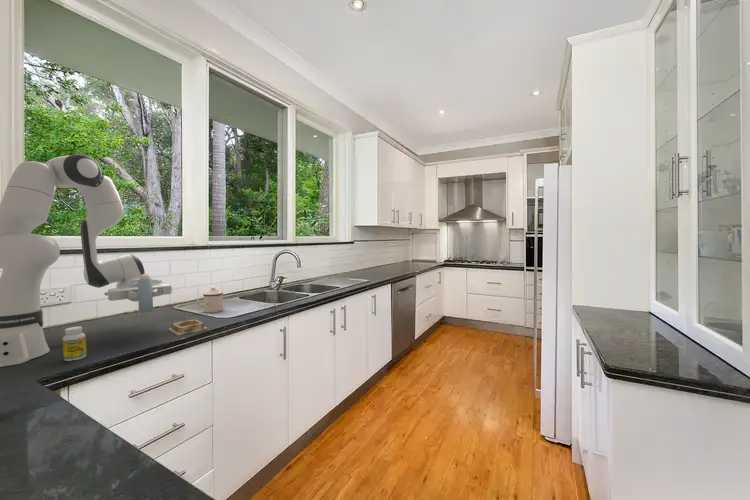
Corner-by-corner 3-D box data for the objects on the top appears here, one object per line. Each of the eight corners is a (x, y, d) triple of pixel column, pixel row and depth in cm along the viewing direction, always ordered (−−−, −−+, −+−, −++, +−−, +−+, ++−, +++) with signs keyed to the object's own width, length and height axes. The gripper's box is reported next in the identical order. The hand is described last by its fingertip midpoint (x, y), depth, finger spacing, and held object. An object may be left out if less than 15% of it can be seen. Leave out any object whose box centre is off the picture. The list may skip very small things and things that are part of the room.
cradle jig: (177, 335, 129) (177, 328, 128) (168, 329, 136) (168, 323, 136) (207, 329, 137) (207, 323, 137) (197, 324, 144) (197, 318, 144)
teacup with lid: (222, 308, 175) (222, 285, 174) (224, 311, 167) (223, 288, 166) (196, 310, 169) (195, 287, 168) (197, 314, 161) (196, 290, 160)
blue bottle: (140, 313, 122) (139, 275, 121) (137, 311, 125) (136, 273, 124) (154, 311, 125) (153, 273, 125) (151, 309, 128) (150, 272, 128)
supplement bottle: (84, 353, 110) (83, 324, 109) (88, 357, 106) (86, 327, 106) (62, 358, 106) (60, 328, 105) (65, 362, 102) (63, 331, 102)
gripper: (102, 284, 126) (110, 289, 117) (165, 279, 141) (176, 282, 132) (103, 301, 126) (111, 307, 117) (165, 294, 141) (176, 298, 132)
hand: (146, 294), depth 124 cm, fingers closed on blue bottle, 4 cm apart
